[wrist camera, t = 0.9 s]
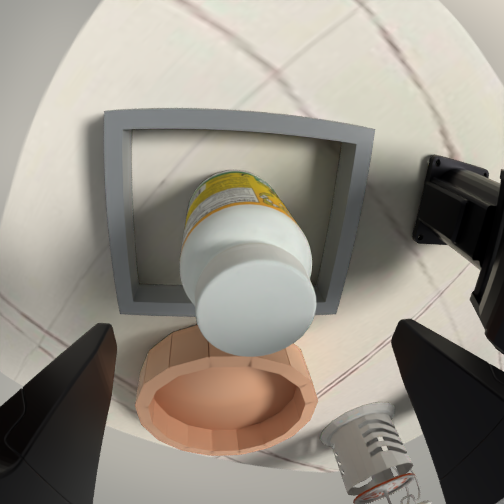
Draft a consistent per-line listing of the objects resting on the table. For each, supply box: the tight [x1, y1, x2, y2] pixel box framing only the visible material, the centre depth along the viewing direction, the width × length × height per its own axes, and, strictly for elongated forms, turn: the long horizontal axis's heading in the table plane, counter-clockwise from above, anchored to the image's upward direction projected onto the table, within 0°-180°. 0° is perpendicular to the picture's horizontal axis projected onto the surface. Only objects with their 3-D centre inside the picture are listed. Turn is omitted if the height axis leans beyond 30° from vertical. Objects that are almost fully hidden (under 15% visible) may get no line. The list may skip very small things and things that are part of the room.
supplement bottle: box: [180, 170, 316, 357], centre depth 14 cm, size 5×5×10 cm
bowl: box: [135, 325, 318, 456], centre depth 24 cm, size 14×14×4 cm
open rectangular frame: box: [104, 108, 375, 317], centre depth 18 cm, size 14×12×2 cm
